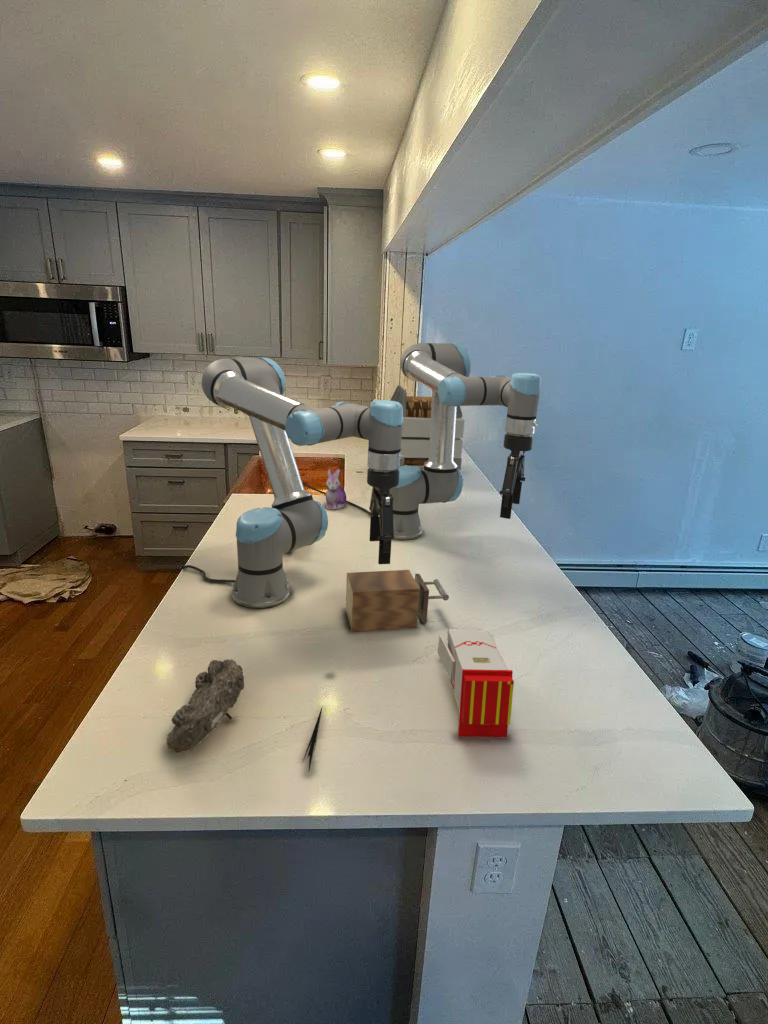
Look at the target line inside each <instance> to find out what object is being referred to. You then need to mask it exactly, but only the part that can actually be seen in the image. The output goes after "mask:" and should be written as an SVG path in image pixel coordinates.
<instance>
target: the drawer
mask: <svg viewBox="0 0 768 1024" xmlns="http://www.w3.org/2000/svg"><path fill="white" fill-rule="evenodd" d="M414 580H415V581H416V583H417V585H418V587H419V602H418V617H419V619H420V621H421V623H427V622H428V612H429V611H428V610H429V600H439V599H440V600H441V599H442V600H443V601H448V600H449V599H450V595H449V594H448V592H447V591H446V589H445V588H444V586H443V584H442V583H441V581H440V580H439V579H438V578H435V579H434V580H432V581H424V579H423V577H422V575H421V573H415V574H414ZM427 585H434V587H435V589H436V590H437V592H438V594H439V595H430V589H429V587H428V586H427Z"/></svg>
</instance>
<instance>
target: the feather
mask: <svg viewBox="0 0 768 1024" xmlns="http://www.w3.org/2000/svg"><path fill="white" fill-rule="evenodd" d="M329 675H330V676H331V675H332V674H331V673H330V674H329ZM322 710H323V707H321V708H320V710H319V713H318V716H317V719H316V723H315V725H314V728H313V731H312V733H311V737H310V739H309V742H308V745H307V748H306V751H305V754H304V757H303V760H302V763H301V767H302V765H303V763H304V761H305V758H308V759H309V760H308V762H307V763H308V764H307V766H308V771H310V770H311V766H312V765H311V764H312V760H313V757H315V756H314V755H315V751H316V749H315V746H317V739H318V733H319V729H320V722H321V717H322V712H323V711H322ZM313 754H314V755H313ZM306 755H307V757H306Z"/></svg>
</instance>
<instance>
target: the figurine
mask: <svg viewBox="0 0 768 1024" xmlns="http://www.w3.org/2000/svg"><path fill="white" fill-rule="evenodd" d="M340 472H341V471H340V468H337V469H336V470H335V471H334V473H333V470H331V468H330V469H328V470H327V480H326V483H325V487H326V489H327V490H326V492H325V493H326V495H325V501H326V502H325V509H327V510H340V509H343V508H345V507H346V505H347V503H346V501H347V493H346V491H345V489H344V488H343V487H342V486H341V482H340V480H339V476H340Z"/></svg>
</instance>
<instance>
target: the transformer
mask: <svg viewBox="0 0 768 1024" xmlns="http://www.w3.org/2000/svg"><path fill="white" fill-rule="evenodd" d="M407 394H408V393H407V390H406V389H404V388H403V387H402V385H399V384H398V385H397V386H396V388H395V390H394V392H393V394H392V395H391V398H390V400H389V401H396V402H399V403H400V404H401V405H402V407H403V427H402V437H401V451H400V454H401V455H403V458H401V459H400V466H416V467H424V464H425V463H426V462H427V461H428V460H429V444H430V425H431V406H432V396H415V395H414V396H413V395H412V396H411V395H407ZM464 429H465V419H464V418H463V411H462V408H461V406H457V412H456V427H455V442H454V458H453V461H454V462H455V463H456V464H457V469H458V470H460V472H461V473H462V461H463V460H462V453H463V442H464V441H463V440H462V439H463V438H464V431H465V430H464Z"/></svg>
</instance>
